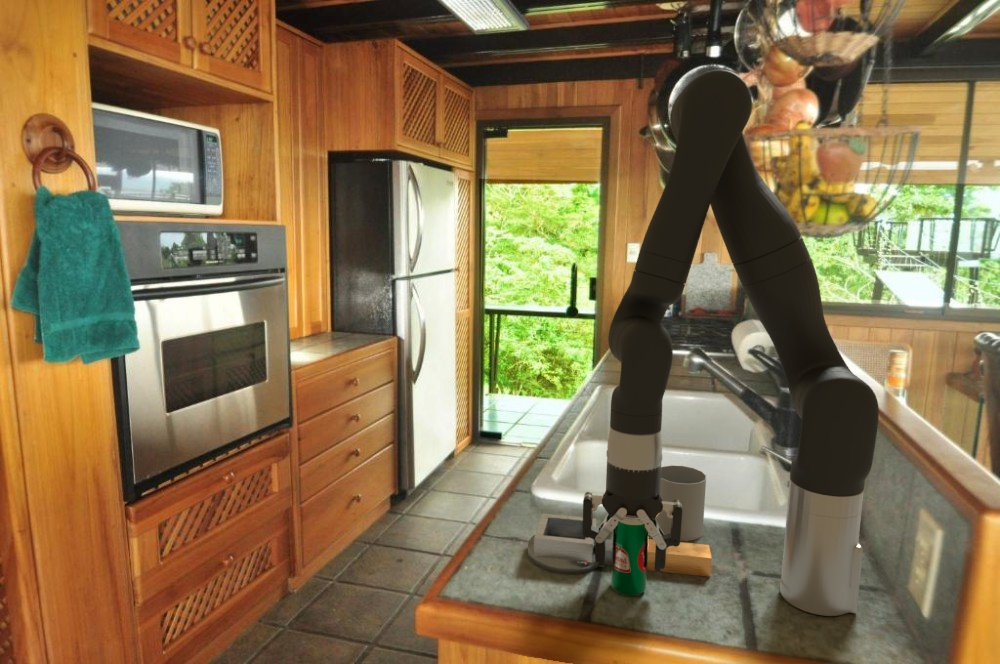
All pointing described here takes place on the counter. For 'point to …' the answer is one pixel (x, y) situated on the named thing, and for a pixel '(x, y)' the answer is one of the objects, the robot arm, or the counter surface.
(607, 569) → the counter surface
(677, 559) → the ratchet
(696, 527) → the cup
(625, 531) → the soda can
